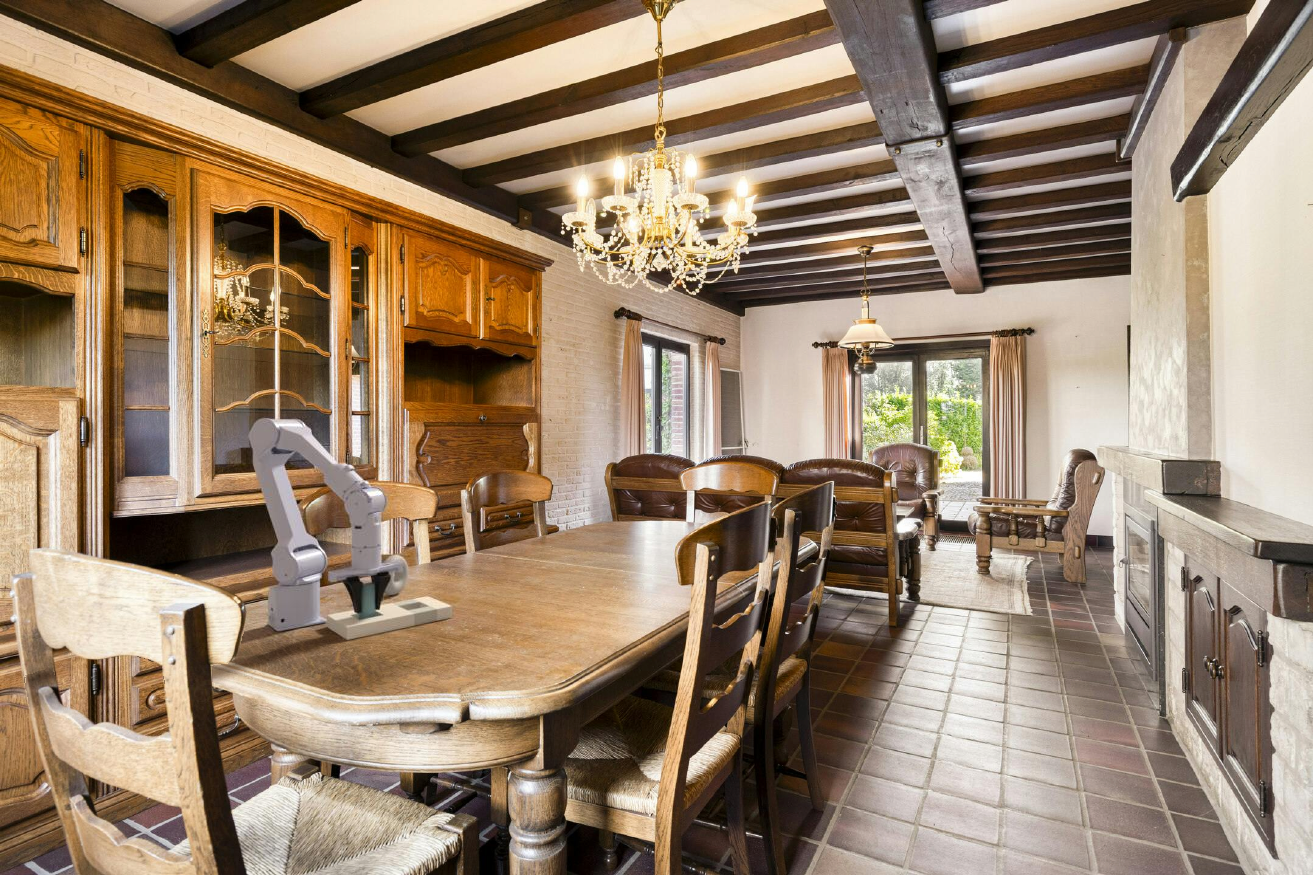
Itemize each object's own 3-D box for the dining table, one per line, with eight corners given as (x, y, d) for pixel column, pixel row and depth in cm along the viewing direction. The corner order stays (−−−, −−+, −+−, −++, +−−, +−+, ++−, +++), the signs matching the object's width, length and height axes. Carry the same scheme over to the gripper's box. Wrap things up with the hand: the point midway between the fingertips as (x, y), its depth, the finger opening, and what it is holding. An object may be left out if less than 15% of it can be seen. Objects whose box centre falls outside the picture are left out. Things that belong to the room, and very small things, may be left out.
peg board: (347, 639, 128) (347, 627, 128) (327, 626, 137) (326, 614, 137) (452, 617, 143) (452, 606, 143) (428, 606, 152) (427, 596, 152)
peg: (362, 630, 134) (361, 586, 134) (356, 626, 137) (356, 584, 137) (377, 626, 137) (377, 584, 136) (372, 623, 139) (371, 581, 139)
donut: (388, 600, 158) (388, 559, 158) (375, 599, 159) (375, 558, 159) (411, 590, 168) (411, 551, 168) (399, 589, 169) (398, 551, 169)
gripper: (336, 552, 129) (336, 621, 129) (408, 543, 139) (409, 607, 139) (324, 548, 134) (325, 614, 134) (395, 539, 144) (395, 601, 144)
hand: (367, 610), depth 137 cm, fingers closed on peg, 3 cm apart
